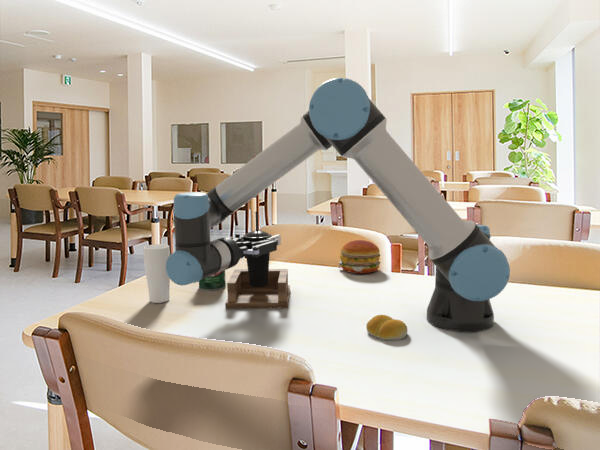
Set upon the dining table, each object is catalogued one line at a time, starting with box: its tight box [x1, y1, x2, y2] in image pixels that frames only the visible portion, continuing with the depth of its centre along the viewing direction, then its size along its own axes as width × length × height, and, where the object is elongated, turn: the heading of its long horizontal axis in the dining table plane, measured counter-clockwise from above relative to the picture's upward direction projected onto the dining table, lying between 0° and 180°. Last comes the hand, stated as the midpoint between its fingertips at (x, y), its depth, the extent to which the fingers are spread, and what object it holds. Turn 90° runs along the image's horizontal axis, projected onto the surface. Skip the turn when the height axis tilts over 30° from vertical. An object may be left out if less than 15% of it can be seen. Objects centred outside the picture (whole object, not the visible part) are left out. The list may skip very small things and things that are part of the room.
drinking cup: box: [242, 210, 273, 287], centre depth 140 cm, size 8×8×20 cm
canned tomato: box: [198, 270, 227, 292], centre depth 153 cm, size 8×8×11 cm
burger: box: [338, 239, 382, 274], centre depth 170 cm, size 13×14×10 cm
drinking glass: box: [143, 243, 171, 304], centre depth 140 cm, size 7×7×15 cm
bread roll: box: [365, 314, 408, 341], centre depth 116 cm, size 8×9×4 cm
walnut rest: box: [224, 268, 291, 310], centre depth 142 cm, size 16×16×6 cm
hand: (266, 238), depth 144 cm, fingers closed on drinking cup, 7 cm apart
